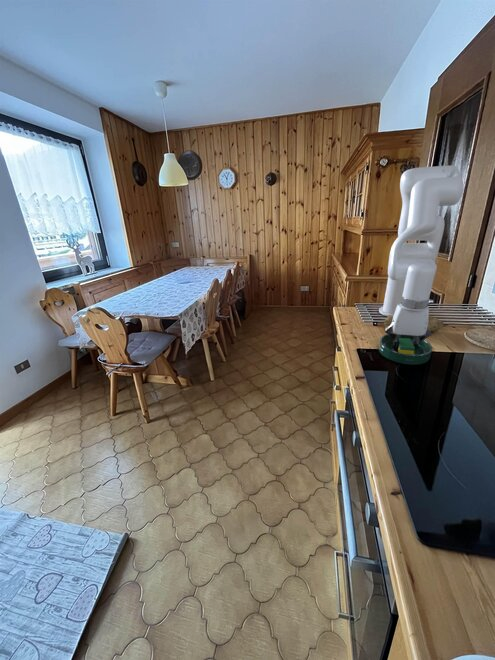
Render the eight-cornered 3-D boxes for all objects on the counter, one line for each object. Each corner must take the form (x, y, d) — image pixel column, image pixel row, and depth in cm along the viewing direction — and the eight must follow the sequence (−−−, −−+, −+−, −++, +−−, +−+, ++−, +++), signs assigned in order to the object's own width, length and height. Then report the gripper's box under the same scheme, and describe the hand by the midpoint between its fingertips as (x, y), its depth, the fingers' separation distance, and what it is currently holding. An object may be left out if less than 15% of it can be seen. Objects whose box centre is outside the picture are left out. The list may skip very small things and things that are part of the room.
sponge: (383, 335, 116) (442, 336, 104) (383, 316, 114) (442, 315, 102) (389, 328, 126) (444, 329, 114) (389, 311, 125) (444, 309, 113)
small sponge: (394, 345, 104) (396, 337, 102) (408, 347, 102) (410, 338, 101) (398, 355, 98) (400, 347, 96) (412, 357, 96) (415, 348, 95)
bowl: (375, 340, 109) (377, 331, 108) (422, 344, 105) (424, 334, 103) (381, 363, 95) (383, 353, 94) (435, 368, 91) (438, 358, 89)
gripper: (440, 299, 93) (427, 347, 101) (384, 297, 97) (376, 343, 105) (447, 308, 86) (433, 358, 94) (387, 305, 91) (379, 353, 99)
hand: (403, 350), depth 100 cm, fingers closed on small sponge, 4 cm apart
